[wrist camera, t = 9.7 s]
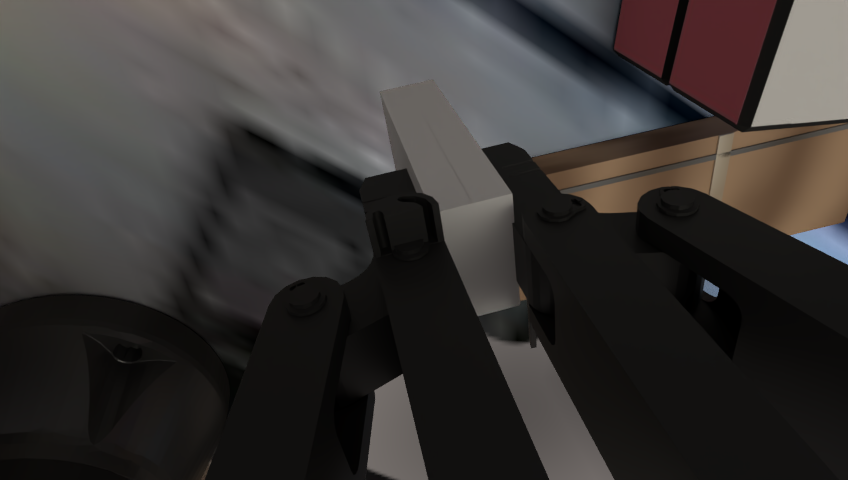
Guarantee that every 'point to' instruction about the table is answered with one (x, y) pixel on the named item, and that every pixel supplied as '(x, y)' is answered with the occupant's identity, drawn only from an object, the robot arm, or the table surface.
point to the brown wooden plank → (716, 171)
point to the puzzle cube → (745, 57)
